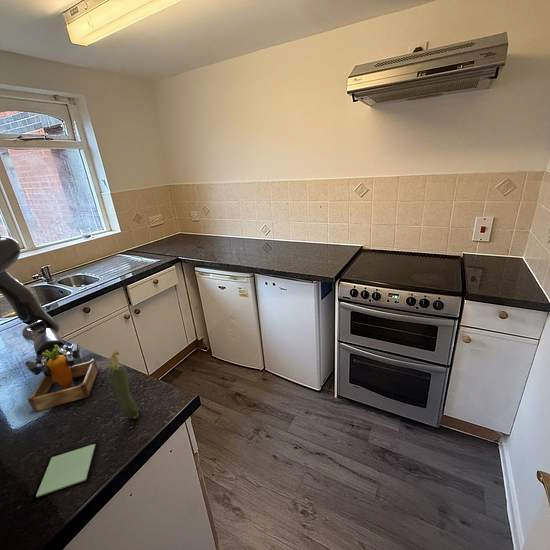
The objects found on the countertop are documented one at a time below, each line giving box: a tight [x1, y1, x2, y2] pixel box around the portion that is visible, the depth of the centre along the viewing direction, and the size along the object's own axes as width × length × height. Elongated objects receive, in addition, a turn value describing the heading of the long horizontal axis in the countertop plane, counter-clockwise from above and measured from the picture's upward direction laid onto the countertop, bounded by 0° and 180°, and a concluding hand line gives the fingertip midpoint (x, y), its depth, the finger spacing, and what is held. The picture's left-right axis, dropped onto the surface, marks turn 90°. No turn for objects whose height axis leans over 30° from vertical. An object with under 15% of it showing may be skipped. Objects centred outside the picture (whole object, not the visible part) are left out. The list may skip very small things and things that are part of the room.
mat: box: [35, 443, 96, 498], centre depth 65 cm, size 9×9×1 cm
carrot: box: [42, 345, 73, 389], centre depth 87 cm, size 5×5×15 cm
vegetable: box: [106, 350, 139, 420], centre depth 74 cm, size 4×4×20 cm
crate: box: [27, 358, 99, 413], centre depth 89 cm, size 14×13×4 cm
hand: (60, 368), depth 85 cm, fingers closed on carrot, 5 cm apart
